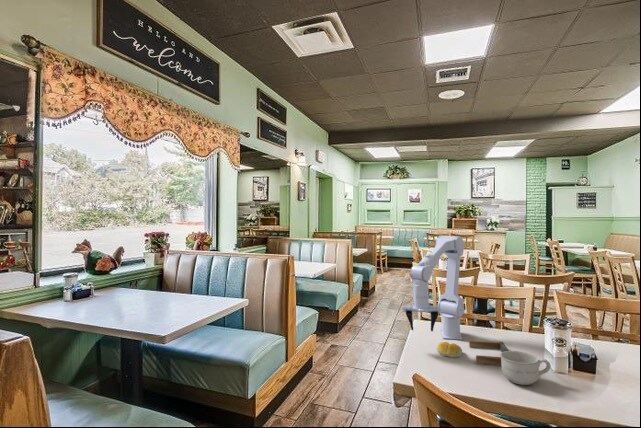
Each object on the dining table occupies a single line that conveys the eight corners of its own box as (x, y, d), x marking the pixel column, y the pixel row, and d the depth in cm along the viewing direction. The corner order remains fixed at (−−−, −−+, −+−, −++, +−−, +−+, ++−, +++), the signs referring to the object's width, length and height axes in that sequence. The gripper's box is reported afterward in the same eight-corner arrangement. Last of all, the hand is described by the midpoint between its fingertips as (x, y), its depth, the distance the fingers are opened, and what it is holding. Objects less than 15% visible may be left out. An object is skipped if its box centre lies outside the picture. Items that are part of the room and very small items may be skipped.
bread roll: (441, 347, 137) (440, 337, 137) (464, 352, 131) (463, 342, 131) (433, 354, 131) (433, 344, 131) (457, 360, 125) (456, 349, 125)
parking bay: (469, 346, 137) (468, 340, 137) (503, 348, 134) (502, 341, 134) (477, 363, 121) (477, 357, 121) (515, 366, 118) (515, 359, 118)
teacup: (501, 384, 107) (500, 359, 107) (500, 369, 117) (500, 346, 116) (554, 394, 100) (553, 368, 100) (549, 378, 110) (548, 353, 110)
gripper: (402, 298, 131) (403, 332, 131) (441, 299, 128) (442, 334, 128) (402, 293, 138) (403, 326, 138) (439, 294, 134) (440, 328, 135)
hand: (422, 330), depth 133 cm, fingers open, 7 cm apart
